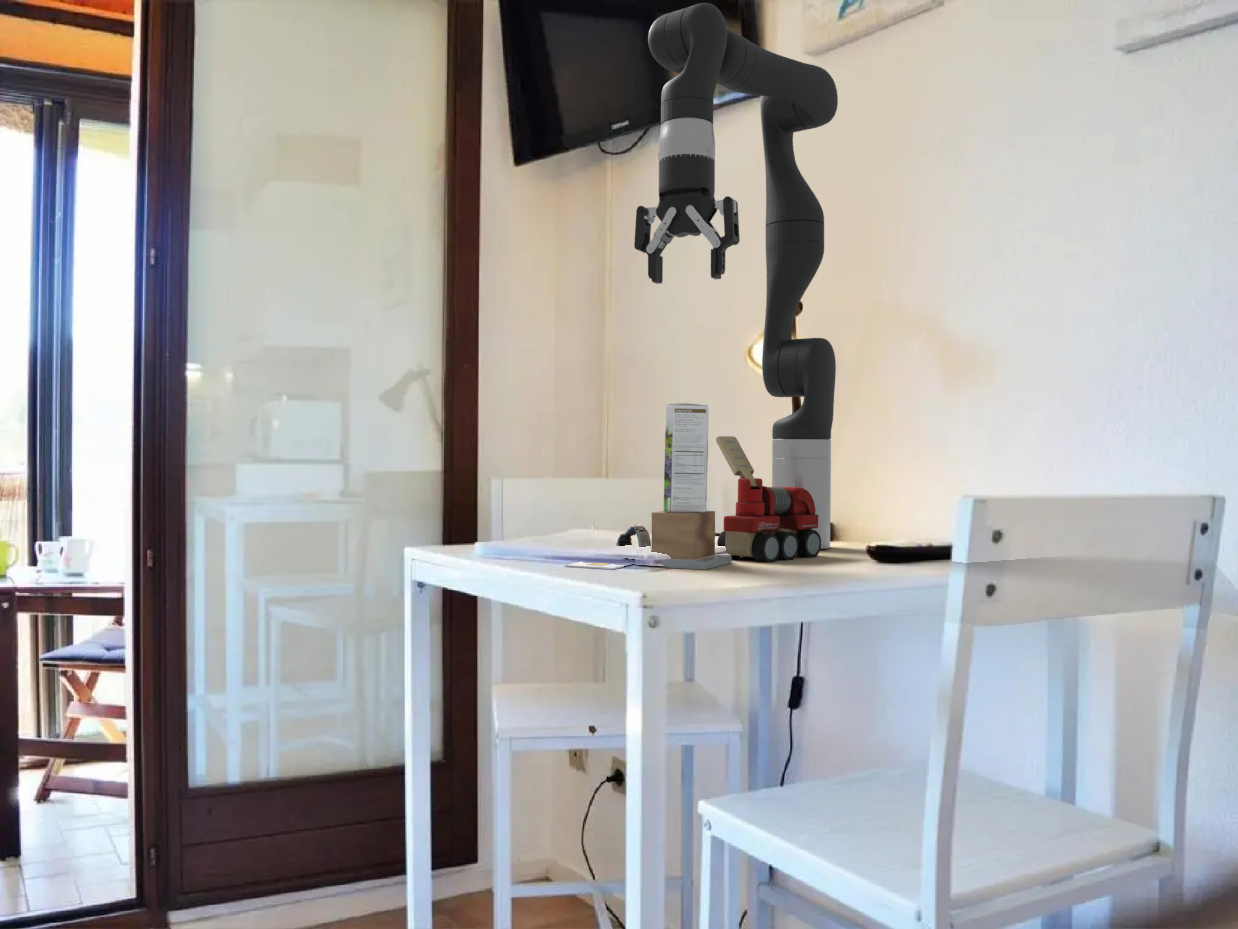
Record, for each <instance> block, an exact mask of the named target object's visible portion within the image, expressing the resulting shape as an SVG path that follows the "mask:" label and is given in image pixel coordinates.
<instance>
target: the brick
mask: <svg viewBox="0 0 1238 929" xmlns="http://www.w3.org/2000/svg"><path fill="white" fill-rule="evenodd" d="M651 552H657V553H662V554H667V555H669V556H670V557H671V559H684V560H696V559H700V558H704V557H708V556H712V555H716V510H706V512H664V510H663V511H653V512H651Z"/></svg>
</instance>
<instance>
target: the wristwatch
mask: <svg viewBox="0 0 1238 929" xmlns="http://www.w3.org/2000/svg"><path fill="white" fill-rule="evenodd" d="M633 536H636V537H637V543H638V548H639V547H646V546H650V547H652V539H651V536H650V533H649V531H648V530H647V529H646V527H645V526H644V525H634V526H630V527H629V528H628V529H627V530H626V531H625V532H624V533H620V534H619V536H618V538H617V541H616V543H615V547H616V546H625V545H633V543H632V540H633V539H632V537H633Z"/></svg>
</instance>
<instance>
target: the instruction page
mask: <svg viewBox="0 0 1238 929" xmlns="http://www.w3.org/2000/svg"><path fill="white" fill-rule="evenodd" d="M624 566H625V565H615V564H607V563H583V561H579V562H574V563H568V564H564V568H565V567H567V568H568V567H569V568H582V569H584V568H585V569H598V570H599V569H600V570H601V569H602V570H617V569H621V568H625V567H624Z"/></svg>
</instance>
